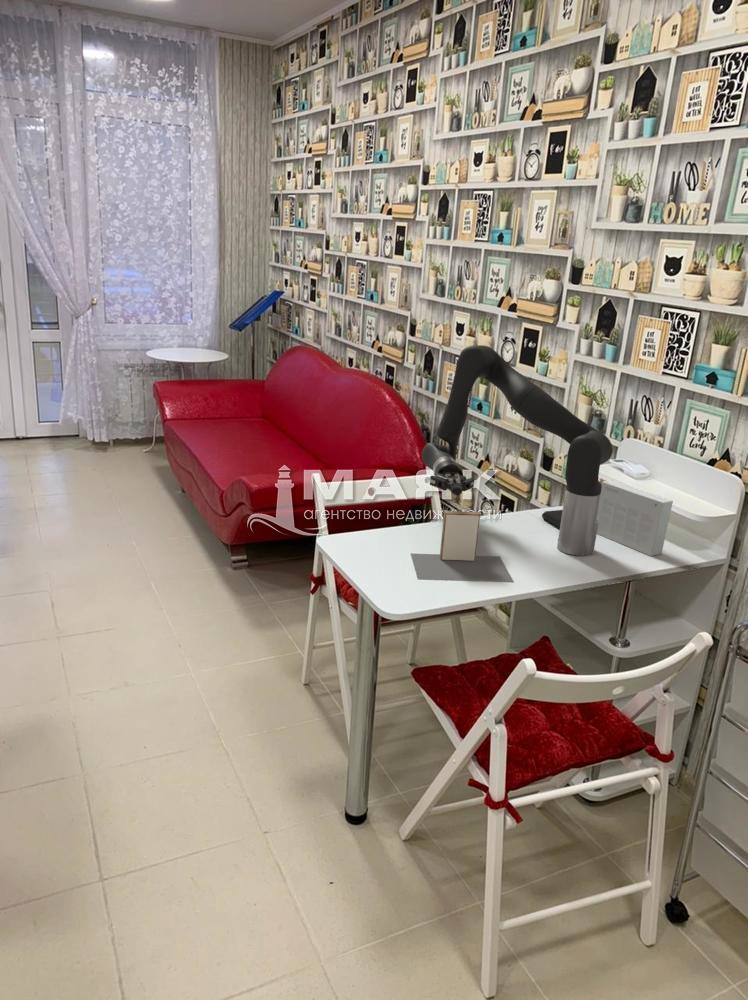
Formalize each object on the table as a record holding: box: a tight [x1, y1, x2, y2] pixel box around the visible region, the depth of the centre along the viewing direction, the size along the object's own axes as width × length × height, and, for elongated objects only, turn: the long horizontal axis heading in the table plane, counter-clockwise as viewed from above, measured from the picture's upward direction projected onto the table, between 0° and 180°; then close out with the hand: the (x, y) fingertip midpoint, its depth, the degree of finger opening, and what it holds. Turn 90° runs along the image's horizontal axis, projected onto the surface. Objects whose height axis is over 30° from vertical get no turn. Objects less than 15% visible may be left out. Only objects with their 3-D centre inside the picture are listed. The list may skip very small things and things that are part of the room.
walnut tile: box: [439, 510, 481, 561], centre depth 195 cm, size 9×2×13 cm, turn 94°
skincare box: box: [596, 480, 674, 557], centre depth 216 cm, size 21×6×16 cm, turn 35°
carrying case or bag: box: [541, 509, 563, 530], centre depth 229 cm, size 11×3×15 cm
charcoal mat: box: [410, 552, 515, 583], centre depth 192 cm, size 24×16×1 cm, turn 94°
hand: (457, 491), depth 199 cm, fingers closed
